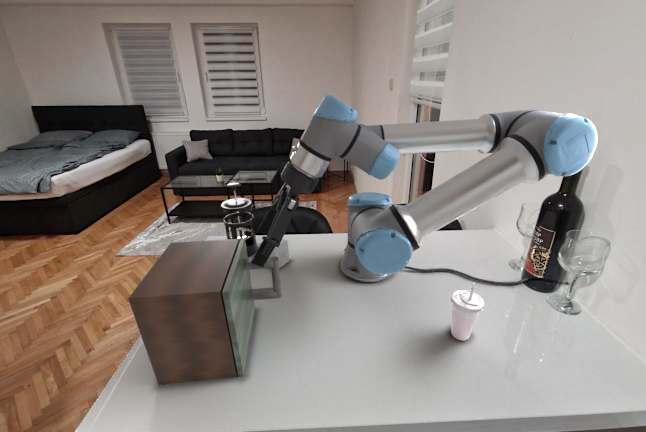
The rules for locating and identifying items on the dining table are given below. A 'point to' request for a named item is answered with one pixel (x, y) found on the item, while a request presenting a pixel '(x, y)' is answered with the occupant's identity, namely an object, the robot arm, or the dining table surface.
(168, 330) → the cupboard
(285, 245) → the product carton
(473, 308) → the smoothie
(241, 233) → the french press
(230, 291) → the door
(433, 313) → the dining table surface
